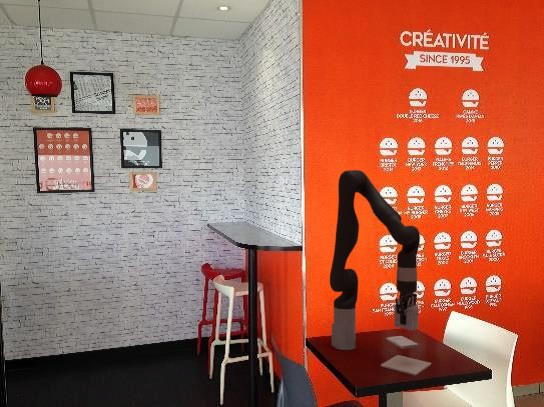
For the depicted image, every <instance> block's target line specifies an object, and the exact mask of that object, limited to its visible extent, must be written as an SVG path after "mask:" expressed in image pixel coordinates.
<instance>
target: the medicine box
mask: <svg viewBox="0 0 544 407" xmlns="http://www.w3.org/2000/svg"><path fill="white" fill-rule="evenodd" d="M403 306H404V305H403ZM404 307H405V306H404ZM399 310H400V309H399ZM394 327H395V328H396V327H397V328H400V329H405V330H408V331H415V330H418V329H419V306H418V305H416V306H414V305H409V307H408V309H407V313H406V325H402V324H400V314H397V310H396V303H395V304H394Z"/></svg>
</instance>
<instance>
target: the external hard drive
mask: <svg viewBox="0 0 544 407" xmlns="http://www.w3.org/2000/svg"><path fill="white" fill-rule="evenodd" d="M385 339H386V342H387V341H388V342H389V343H391V344H393V345H395V346H397V347H398V348H400V349H402V350H404V349H405V350H406V349H411V348H412V349H413V348H418V347H420V344H418V343H417V342H415V341H413V340H410V339H408V338H407V337H405V336H404V335H403V336H402V335H398V336H389V337H386V338H385Z"/></svg>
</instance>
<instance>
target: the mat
mask: <svg viewBox="0 0 544 407" xmlns="http://www.w3.org/2000/svg"><path fill="white" fill-rule="evenodd" d="M431 365H432V362H428V361H425V360H420V359H416V358H412V357H407V356H403V355H399V354H397V355H395V356H393V357H392V358H390V359H388V360H387V361H385V362H383V363H381V364H380V367H382V368H386V369H390V370H394V371H397V372H399V373H404V374H408V375H411V376H417V375H419V374H420V373H421V372H423V371H424V370H426V369H428V368H429V367H430V366H431Z"/></svg>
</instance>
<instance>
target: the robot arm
mask: <svg viewBox="0 0 544 407" xmlns="http://www.w3.org/2000/svg"><path fill="white" fill-rule="evenodd" d="M337 187H338V192H337V193H338V203H337V204H338V206H337V207H338V208H337V219H336V220H337V221H336V228H335V242H334V250H333V256H332V258H333V259H332V262H331V269H330V273H329V285H330V288H331V290H332V291H334V292H335V293H341V294H340V295H339V296H338V297H336V298H335V299H334V300H333V323H331V347H333V348H335V349H336V350H339V351H351V350H354V349H356V339H357V338H356V329H357V328H356V325H357V324H356V316H357V313H356V312H357V311H356V309H357V308H356V307H357V306H356V305H357V301H358V293H359V279H358V278H359V277H358V274H357V272H356V270H354V269H353V268H346V264H347V261H348V258H349V257H350V255H351V254H352V252H353V250H354V249H355V247H356V245H357V244H358V240H359V230H360V222H359V219H358V216H357V213H356V211H355V197H356V193H358V194H360V195H361V196H362V197H364V199H365V200H366V201H367V202H368V204H369V205H370V208H371V211H372V213H373V214H374V216H375V217H376V219H378V221H379V222H380V223H381V224H382V225H384V226H385V228H386V229H387V230H388V233H389V235H390V236H391V237H392V239H393V240H394V241H395V242H396V243H398V244H399V245H401V250H400V251H399V252H398V253H397V262H396V264H397V265H396V266H397V269H396V291H397V292H399V295H398V296H399V298H395V304H396V310H397V314H400V324H402V325H406V313H407V309H408V307H409V305H414V306H417V302H418V300H417V298H418V293H416V292H418V271H417V269H418V268H417V267H418V266H417V263H418V262H417V255H418V251H419V247H420V242H421V241H420V240H421V233H420V230H419V229H418V228H417V227H416V226H415V225H405V224H404V223H403V222H402V216H401V214H399V212H398V211H397V210H396V209H395V208H394V207H393V206H391V204H389V202H387V200H386V199H385V198H384V197H383V195H381V193H380V192H379V191H378V189H377V188H376V187H375V185H374V184H373V182H372V180H370V178H369V176H368V175H366V173H365V172H364V171H362V170H358V169H354V170H353V169H349V170H345V171H343V172H341V174H340V175H339V178H338V186H337ZM403 305H404V306H405V307H404V306H403ZM399 309H400V310H399Z"/></svg>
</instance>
